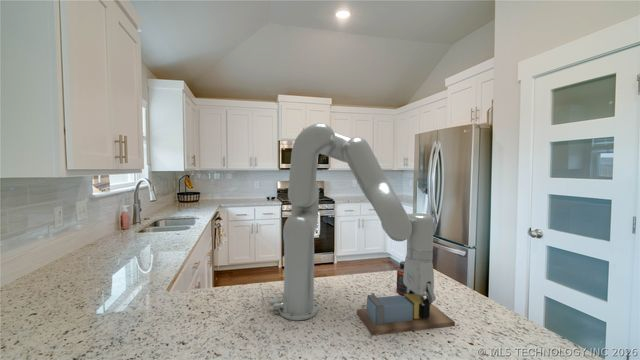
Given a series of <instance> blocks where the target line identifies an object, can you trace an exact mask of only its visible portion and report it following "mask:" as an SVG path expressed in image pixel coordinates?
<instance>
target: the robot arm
mask: <svg viewBox="0 0 640 360" xmlns="http://www.w3.org/2000/svg"><path fill="white" fill-rule="evenodd" d="M319 155H323V156H325V157H329V158H331V159H334V160H337V161H340V162H343V163H347V165H348V167H349V168H350V171H351V173H352V175H353V177H354V178H355V180H356V182H357V184H358V186H359V188H360V189H361V192H362V194H364V195H363V196H364V197H365V198H366V199H367V200H368V202H369V203H370V204H371V206H372V208H373V209H374V212H375V213H376V214H377V216H378V218H379V221H380V222H381V228H382V229H383V231H384V232H385V233H386V235H387V236H388V237H389V238H390V239H391V240H392V241H394V242H404V241H406V255H405V260H404V261H405V264H404V274H403V283H404V285H405V286H406V287H407V294H414V293H415V294H416V295H418V296H420V302H421V304H419V317H420V318H428V317H429V316H430V305H431V304H433V303H434V302H435V301H436V295H435V293H434V291H435V277H434V276H435V275H434V274H435V273H434V266H433V265H434V264H433V258H434V257H433V256H434V255H433V253H434V252H433V251H434V223H435V222H434V218H433V216H432V215H431V214H428V213H421V212H416V213H415V212H413V213H407V212H406V210H405V208H404V206H403V204H402V202H401V201H400V199H399V197H398V195H397V193H396V192H395V191H394V189H393V186H392V185H391V183H390V181H389V179H388V178H387V176H386V174H385V173H384V170H383V169H382V168H381V165H380V164H379V160H378V159H377V158H376V155H375V153H374V151H373V150H372V147H371V146H370V144H369V143H368V142H367V140H366V139H365V138H363V137H360V136H354V137H351V138H350V137H348V136H344V135H341V134H338V133H336V132H335V131H334V130H333V128H332V127H331V126H329V125H328V124H326V123H322V122H321V123H319V122H318V123H314V124H311V125H309V126H307V127H305V128H303V130H301V131H300V133H299V134H298V135H297V136H296V138H295V139H294V142H293V144H292V149H291V154H290V166H289V167H290V168H289V176H288V177H289V179H288V187H287V188H288V189H287V198H288V201H289V203H290V204H291V212H290V213H291V214H290V215H289V216H288V217H287V219H285V223H284V225H283V231H282V235H283V237H282V238H283V249H284V250H283V255H284V256H283V257H284V258H283V261H284V263H283V264H284V269H283V277H284V278H283V293H282V294H281V296H279V297H277V298H268V304H269V305H268V306H272V307H273V309H278V313H279V315H280V317H283V318H284V319H287V320H289V321H290V320H291V321H304V320H309V319H312V318H313V317H314V316H316V315H317V314H318V312H319V305H318V303H317V302H316V301H314V299H315V298H314V295H315V293H314V292H315V291H314V288H315V287H314V285H315V282H314V281H315V231H316V229H317V226H318V221H319V220H318V219H319V205H320V203H319V202H320V188H319V186H318V184H317V171H318V159H319ZM423 297H424V298H426V299H425V300H424V298H423Z"/></svg>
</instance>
